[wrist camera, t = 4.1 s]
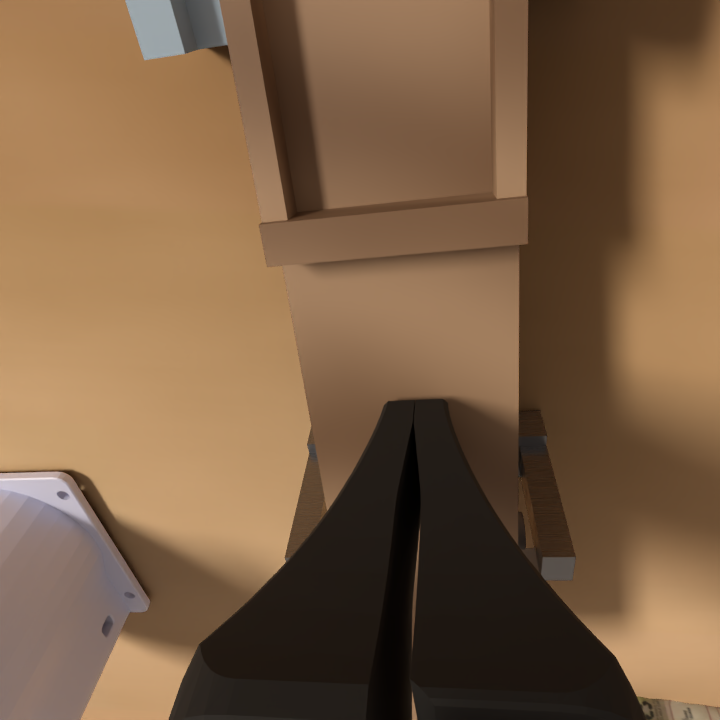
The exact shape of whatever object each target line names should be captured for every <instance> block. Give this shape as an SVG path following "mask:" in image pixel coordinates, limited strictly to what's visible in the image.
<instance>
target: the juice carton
mask: <svg viewBox="0 0 720 720" xmlns="http://www.w3.org/2000/svg"><path fill="white" fill-rule="evenodd" d="M637 698H638V701H639V703H640V705H641V707H642V710H643V712H644V715H645V717H646V720H720V707H712V706H706V705H699V704H689V703H682V702H676V701H672V700H662V699H648V698H643V697H637Z"/></svg>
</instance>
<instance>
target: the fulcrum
mask: <svg viewBox="0 0 720 720" xmlns="http://www.w3.org/2000/svg"><path fill="white" fill-rule="evenodd" d="M546 442H547V434H546V430H545V427H544V423H543V419H542V416H541V412H540V410H538V411H519V444H518V477H521V482H522V487H523V492H524V497H525V503H526V508H527V513H528V518H529V523H530V528H531V533H532V538H533V543H534V548H535V554H536V559H537V564H538V569H539V573H540V574H541V575H542V577H543V578H544V579H545V580H573V573H574V566H575V559H576V556H575V552H574V549H573V545H572V541H571V537H570V534H569V530H568V526H567V522H566V518H565V515H564V511H563V507H562V503H561V499H560V496H559V492H558V488H557V484H556V480H555V477H554V473H553V469H552V465H551V462H550V458H549V454H548V450H547V446H546ZM307 446H308V449H309V457H308V461H307V466H306V470H305V474H304V478H303V483H302V487H301V491H300V495H299V499H298V504H297V508H296V512H295V516H294V521H293V525H292V529H291V533H290V538H289V542H288V546H287V550H286V555H285V560H286V562H287V561H288V560H289V558H290V557H291V556H292V555H293V554H294V553H295V551H296V550H297V549H298V548H299V547H300V545H301V544H302V543H303V542H304V541H305V539H306V538H307V537H308V536H309V535H310V533H311V532H312V531H313V529H314V528H315V527H316V525H317V524H318V523H319V521H320V520H321V519H322V517H323V516H324V515H325V513H326V512H327V508H326V502H325V497H324V491H323V486H322V480H321V475H320V469H319V464H318V459H317V453H316V448H315V442H314V437H313V431H312V427H311V431H310V435H309V439H308V443H307Z"/></svg>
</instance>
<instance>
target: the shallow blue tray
mask: <svg viewBox="0 0 720 720" xmlns="http://www.w3.org/2000/svg"><path fill="white" fill-rule="evenodd" d="M125 1H126V4H127V7H128V10H129V14H130V17H131V20H132V23H133V26H134V29H135V32H136V35H137V39H138V42H139V45H140V48H141V51H142V54H143V57H144V60H148V59H155V58H161V57H168V56H174V55H180V54H186V53H189V52H192V51H195V50H198V49H204V48H211V47H217V46H223V45H228V44H227V38H226V33H225V28H224V23H223V18H222V12H221V7H220V2H219V0H125Z"/></svg>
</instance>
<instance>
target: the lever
mask: <svg viewBox="0 0 720 720" xmlns="http://www.w3.org/2000/svg"><path fill="white" fill-rule="evenodd" d="M219 2H220V7H221V12H222V18H223V23H224V28H225V33H226V38H227V44H228V49H229V54H230V59H231V64H232V70H233V75H234V80H235V85H236V90H237V96H238V101H239V106H240V111H241V116H242V122H243V127H244V132H245V137H246V143H247V148H248V153H249V158H250V163H251V169H252V174H253V179H254V184H255V189H256V195H257V200H258V205H259V210H260V215H261V221H262V223H261V224H259V228H260V233H261V238H262V243H263V249H264V254H265V259H266V264H267V267H274V266H282V267H283V272H284V278H285V283H286V289H287V294H288V300H289V305H290V311H291V316H292V322H293V327H294V333H295V338H296V344H297V349H298V354H299V360H300V365H301V371H302V376H303V382H304V387H305V393H306V398H307V404H308V409H309V415H310V420H311V426H312V431H313V437H314V442H315V448H316V453H317V459H318V464H319V469H320V475H321V480H322V486H323V491H324V497H325V502H326V508H327V511H328V509H329V508H330V506H331V505H332V503H333V502H334V500H335V499H336V497H337V496H338V494H339V493H340V491H341V489H342V488H343V486H344V485H345V483H346V481H347V480H348V478H349V477H350V475H351V473H352V472H353V470H354V468H355V466H356V465H357V463H358V461H359V459H360V457H361V455H362V453H363V451H364V450H365V448H366V446H367V444H368V442H369V440H370V438H371V436H372V434H373V431H374V429H375V427H376V425H377V422H378V420H379V418H380V415H381V412H382V409H383V406H384V405H385V404H386V403H387V402H388V401H400V400H415V402H416V400H424V399H444V400H445V401H446V402H448V408H449V413H450V417H451V421H452V424H453V427H454V430H455V433H456V436H457V438H458V441H459V443H460V446H461V448H462V450H463V452H464V455H465V457H466V459H467V461H468V463H469V465H470V467H471V469H472V471H473V473H474V475H475V477H476V479H477V481H478V483H479V485H480V486H481V488H482V490H483V492H484V494H485V495H486V497H487V499H488V501H489V502H490V504H491V506H492V507H493V509H494V510H495V512H496V514H497V515H498V517H499V518H500V520H501V521H502V523H503V524H504V526H505V527H506V529H507V530H508V532H509V533H510V535H511V536H512V538H513V539H514V540H515V542H516V543H517V545H518V546H519V547H520V549H521V550H522V551H523V553H524V554H525V556H526V557H527V558H528V559H529V561H530V562H531V563H532V564H533V566H534V567H535V568H536V569H537V570H538V572H539V569H538V564H537V559H536V554H535V548H525V547H526V537H525V526H524V519H523V515H522V512H518V444H519V245H523V244H528V197H527V196H526V184H527V75H528V0H219ZM419 540H420V530H419ZM418 560H419V541H418V551H417V561H416V572H415V582H414V592H413V609H412V648H413V636H414V623H415V610H416V594H417V578H418ZM412 720H417V714H416V709H415V704H414V698H413V693H412Z"/></svg>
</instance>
